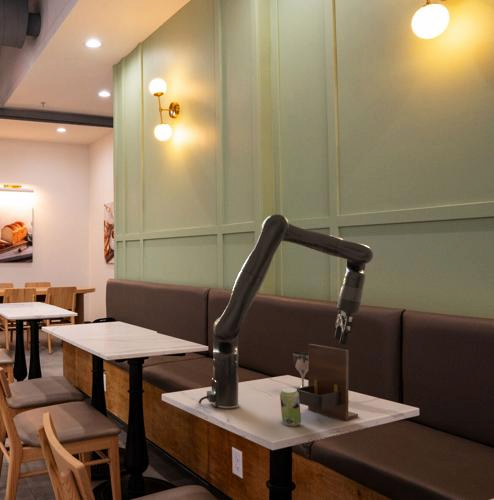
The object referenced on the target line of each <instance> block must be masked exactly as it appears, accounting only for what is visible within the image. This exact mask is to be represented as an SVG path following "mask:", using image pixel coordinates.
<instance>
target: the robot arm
mask: <svg viewBox="0 0 494 500" xmlns="http://www.w3.org/2000/svg"><path fill="white" fill-rule="evenodd" d="M260 229H261V231H260V234H259V237H258V239H257V242H256V244H255V246H254V248H253V249H252V251H251V252H250V254H249V255H248V257H247V258H246V259H245V261H244V263H243V264H242V267H241V269H240V271H239V272H238V274H237V277H236V279H235V281H234V285H233V288H232V291H231V295H230V298H229V301H228V303H227V306H226V308H225V310H224V311H223V313H222V315H221V316H219V317H218V318H216V320H215V321H214V323H213V326H212V355H213V357H212V358H213V363H212V364H213V372H212V374H213V375H212V378H211V390H207V391H206V395H205V396H202V397H201V398H199V400H198V404H201V403H202V401H204V400H205V399H206V400H207V401H208V402H209V403H211V405H212V406H214V408H216V409H217V408H218V409H225V410H226V409H227V410H231V409H237V408H239V358H240V357H239V354H240V353H239V335H240V332H241V329H242V326H243V324H244V321H245V318H246V316H247V313H248V311H249V310H250V307H251V306H252V304H253V302H254V301H255V299H256V297H257V295H258V294H259V291H260V290H261V288H262V286H263V284H264V282H265V280H266V277H267V275H268V272H269V269H270V268H271V265H272V261H273V259H274V256H275V254H276V252H277V250H278V248H279V247H280V245H281V243H282V242H287V243H291V244H294V245H300V246H302V247H305V248H308V249H311V250H314V251H317V252H320V253H322V254H325V255H329V256H332V257H336V258H341V259H344V260H346V262H345V263H346V264H345V273H344V277H343V281H342V285H341V287H340V291H339V295H338V299H337V304H336V309H337V310H338V311H337V315H336V320H335V324H334V326H335V328H336V329H335V333H334V339H336V340H339V344H340V345H343V346H344V345H345V346H346V345H347V342H348V339H349V336H350V335H351V334H352V332H353V327H354V323H355V317H353V314H355V315H356V314H359V312H360V307H361V304H362V299H363V296H364V295H363V294H364V287H365V283H366V278H367V276H366V271H365V270H366V266H367V264H369V263H370V262H372V260H373V258H374V252H373V250H372V248H371V247H369V246H368V245H365V244H362V243H358V242H354V241H349V240H346V239H343V238H341V237H339V236H336V235H333V234H329V233H325V232H321V231H317V230H312V229H306V228H303V227H299V226H296V225H294V224H292V223H290V222H289V220H288V219H287V217H285V216H284V215H282V214H278V213H274V214H270V215H269V216H267V217H266V218H265V219H264V220H263V221H262V224H261V228H260Z"/></svg>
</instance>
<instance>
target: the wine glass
mask: <svg viewBox="0 0 494 500" xmlns="http://www.w3.org/2000/svg"><path fill="white" fill-rule="evenodd" d="M292 353H293V354H292V359H293V361H292V362H293V365H294V368H295V369H296V370H297V371H298V372H299V374H300V377H301V386H295V387H294V388H300V387H305V377H306V374H307V373H308V352H305V351H294V352H292Z"/></svg>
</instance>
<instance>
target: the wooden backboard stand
mask: <svg viewBox="0 0 494 500" xmlns="http://www.w3.org/2000/svg"><path fill="white" fill-rule="evenodd" d="M307 345H308V350H307V351H308V352H307V353H308V372H307V373H308V375H307V376H308V377H307V385H306V386H305V385H304V386H305V387H300V386H299V387H300V388H295V387H294V388H295V389H297V392H298V393H299V401H300V405H303V406H306V407H307V410H308V411H311V412H315V413H318V414H322V415H323V416H324V415H325V416H328V417H331V418H335V419H338V420H342V421H344V422H346V421H347V422H348V421H350V420H353V419H357V418H359V413H356V412H352V411H350V410H349V377H350V376H349V375H350V374H349V368H350V367H349V363H350V362H349V361H350V360H349V357H350V356H349V353H350V352H349V349H343V348H338V347H332V346H326V345H320V344H315V343H314V344H313V343H308V344H307Z"/></svg>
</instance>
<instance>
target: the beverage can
mask: <svg viewBox="0 0 494 500" xmlns="http://www.w3.org/2000/svg"><path fill="white" fill-rule="evenodd" d="M279 401H280V409H281V420H282V422H283V423H284V424H285V425H287V426H291V427H294V426H298V425H299V424H301V423H302V415H301V404H300V401H299V393H298V392H297V389H295V387H291V386H285V387H282V388H281V389H280V392H279Z"/></svg>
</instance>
